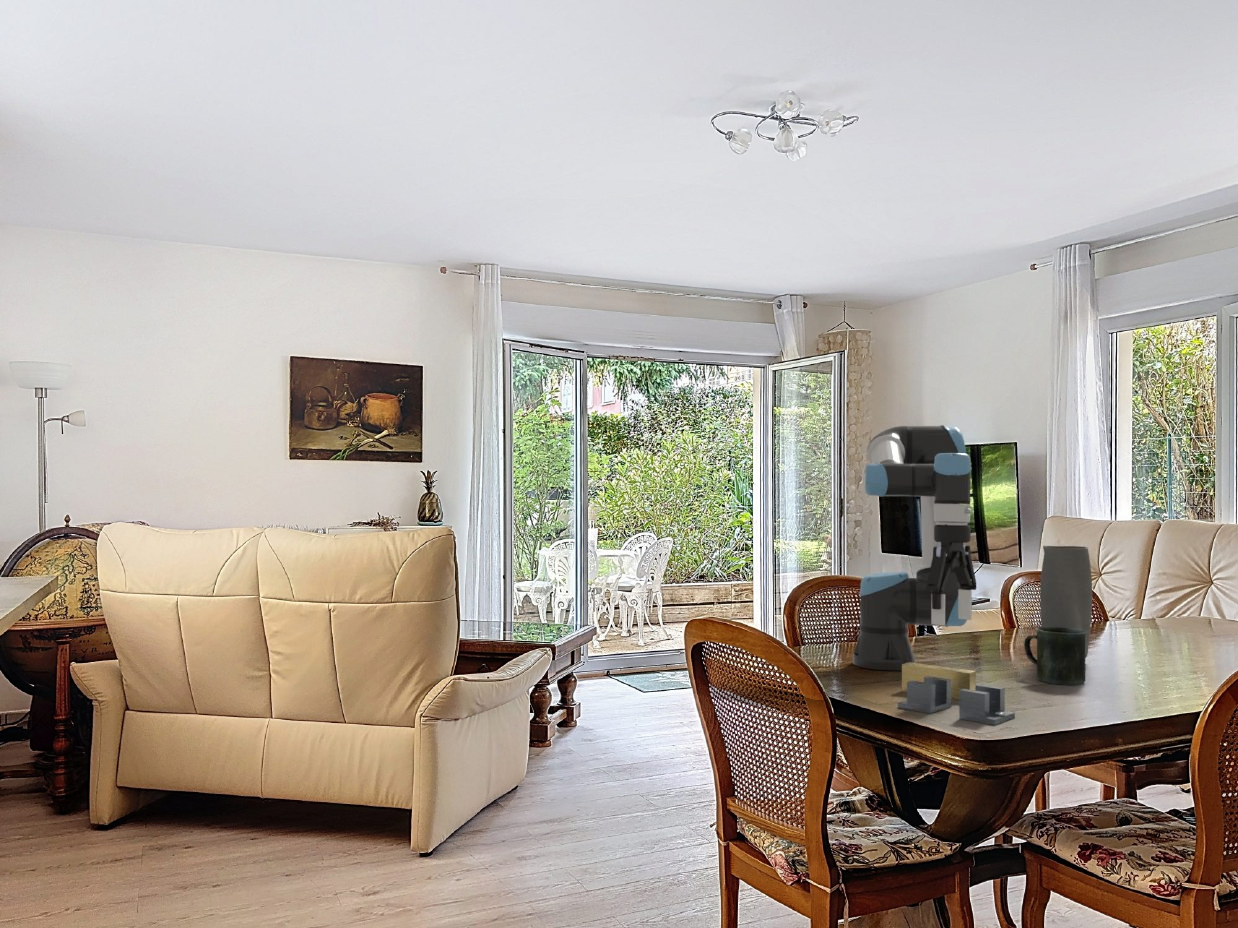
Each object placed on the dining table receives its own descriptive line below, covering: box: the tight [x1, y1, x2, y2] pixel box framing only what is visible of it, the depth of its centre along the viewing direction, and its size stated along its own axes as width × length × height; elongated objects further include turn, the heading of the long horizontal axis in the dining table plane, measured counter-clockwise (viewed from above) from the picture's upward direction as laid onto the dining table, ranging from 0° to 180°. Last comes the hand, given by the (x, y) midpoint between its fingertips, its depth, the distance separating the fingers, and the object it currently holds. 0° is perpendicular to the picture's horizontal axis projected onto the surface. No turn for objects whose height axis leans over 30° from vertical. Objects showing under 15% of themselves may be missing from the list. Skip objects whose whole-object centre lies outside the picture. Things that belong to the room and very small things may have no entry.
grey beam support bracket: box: [958, 683, 1016, 726], centre depth 189 cm, size 7×9×6 cm
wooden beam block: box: [901, 662, 977, 701], centre depth 211 cm, size 15×4×6 cm, turn 50°
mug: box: [1023, 626, 1087, 686], centre depth 229 cm, size 11×15×12 cm
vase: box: [1039, 545, 1093, 659], centre depth 254 cm, size 12×12×30 cm
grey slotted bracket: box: [897, 676, 952, 715], centre depth 198 cm, size 7×9×6 cm
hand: (951, 622), depth 212 cm, fingers open, 13 cm apart
